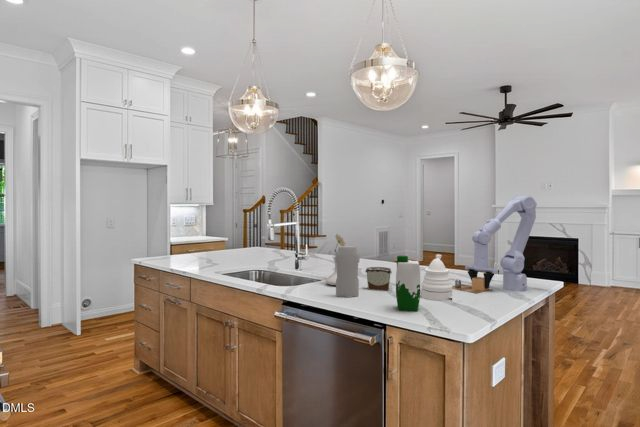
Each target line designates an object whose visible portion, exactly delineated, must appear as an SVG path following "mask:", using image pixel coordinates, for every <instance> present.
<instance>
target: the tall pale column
mask: <svg viewBox="0 0 640 427" xmlns="http://www.w3.org/2000/svg"><path fill="white" fill-rule="evenodd" d="M337 249H338V250H337V251H336V252H337V253H336V252H335V255H334V256H335V261H336V263H337V279H336V285H335V297H337V298H358V297H359V293H360V292H359V289H360V288H359V285H360V284H359V281H360V280H359V277H358V275H359V263H360V261H361V260H360V257H361V255H360V253H359V252H358V248H357V246H352V245H345V246H338V248H337Z"/></svg>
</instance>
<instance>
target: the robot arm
mask: <svg viewBox="0 0 640 427" xmlns="http://www.w3.org/2000/svg"><path fill="white" fill-rule="evenodd" d="M537 205H538V203H537V201H536V200H535V199H534V197H533V196H531V195H526V196H523V195H522V196H518V195H517V196H513V197H512V198H511V200H509V201H508V202H507V205H506V206H504V208H503V209H502V210H501V211H500V212H499V214H498V215H497V216H495V218H490V219H487V220H486V223H485V224H484V225H483V226H482V227H480V228H479V230H477V231H476V230H475V232H474V233H473V235H472V236H471V239H472V242H473V243H474V246H473V248H474V249H473V250H474V251H473V252H474V254H473V256H474V258H473V259H474V260H473V261H474V262H473V265H471V264H469V265H468V264H466V265H464V266H465V267H464V270H467V274H468V275H469V278H470V280H471V282H472V278H475V277H478V274H479V272H483V278H484V279H485V289H488V288H489V289H490V284H491V281H492V280H493V277H494V276H495V275H496V274H498V268H493V267H489V264H488V263H489V262H488V261H489V257H488V256H489V243H490V242H491V240H492V237H493V236H494V235H495V234H496V233H497V231H499V230H500V229H501V228H502V223H504V222H505V221H506V220H507V219H508V218H509V217H510V216H511V215H512V214H513V213H518V214H519V216H520V221H519V224H518V227H517V230H516V232H515V235H514V237H513V240H512V244H511V246H510V249H509V250H508V251H506V252H505V254H504V256H502V258H501V259H500V261H499V263H500V264H499V265H500V267H501V269H502V289H503V290H506V291H515V292H518V293H519V292H520V293H521V292H524V291H525V292H526V291H528V290H527V288H528V287H527V286H528V278H527V275H526V274H525V273H522V272H523V270H524V268H525V259H526V258H525V256H524V251H525V248H526V246H527V242H528V240H529V238H530V235H531V232H532V229H533V227H534V223H535V221H536V218H537V214H536V207H537Z"/></svg>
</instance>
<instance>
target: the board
mask: <svg viewBox="0 0 640 427" xmlns="http://www.w3.org/2000/svg"><path fill="white" fill-rule="evenodd" d="M452 290H455V291H460V292H464V293H465V292H466V293H470V294H475V295H477V294H482V293H487V292H489V291H493V290H494V289H492V288H489V290H485V291H480V290H475V289H472V284H471V285H469V284H464V283H461V288H455V285H452Z"/></svg>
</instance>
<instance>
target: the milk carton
mask: <svg viewBox="0 0 640 427" xmlns="http://www.w3.org/2000/svg"><path fill="white" fill-rule="evenodd" d="M420 269H421V268H420V262H419V261H418V260H411V259H410V260H409V257H408V255H397V258H396V271H395V272H396V273H395V297H396V304H397V310H398V311H402V312H403V311H405V312H419V307H420V299H421V270H420Z"/></svg>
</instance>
